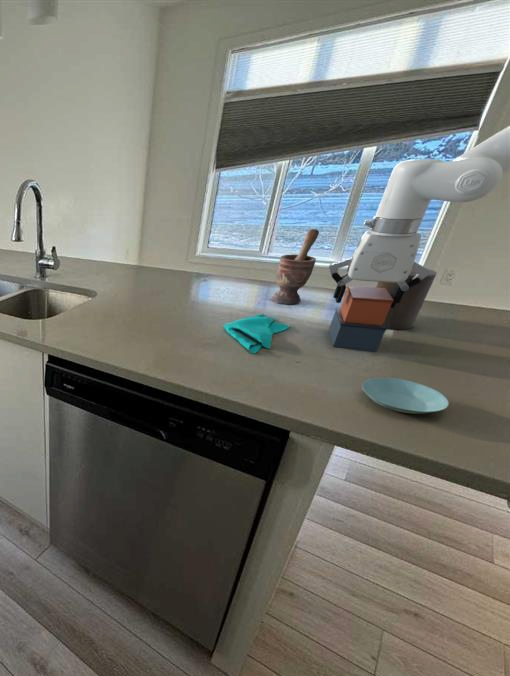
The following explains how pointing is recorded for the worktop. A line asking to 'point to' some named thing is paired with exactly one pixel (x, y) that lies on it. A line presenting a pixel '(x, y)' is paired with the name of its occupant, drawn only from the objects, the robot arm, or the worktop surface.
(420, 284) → the pillar candle
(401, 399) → the saucer
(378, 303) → the container
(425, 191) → the robot arm
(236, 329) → the cloth
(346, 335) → the bottom container
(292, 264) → the mortar and pestle
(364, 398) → the worktop surface
